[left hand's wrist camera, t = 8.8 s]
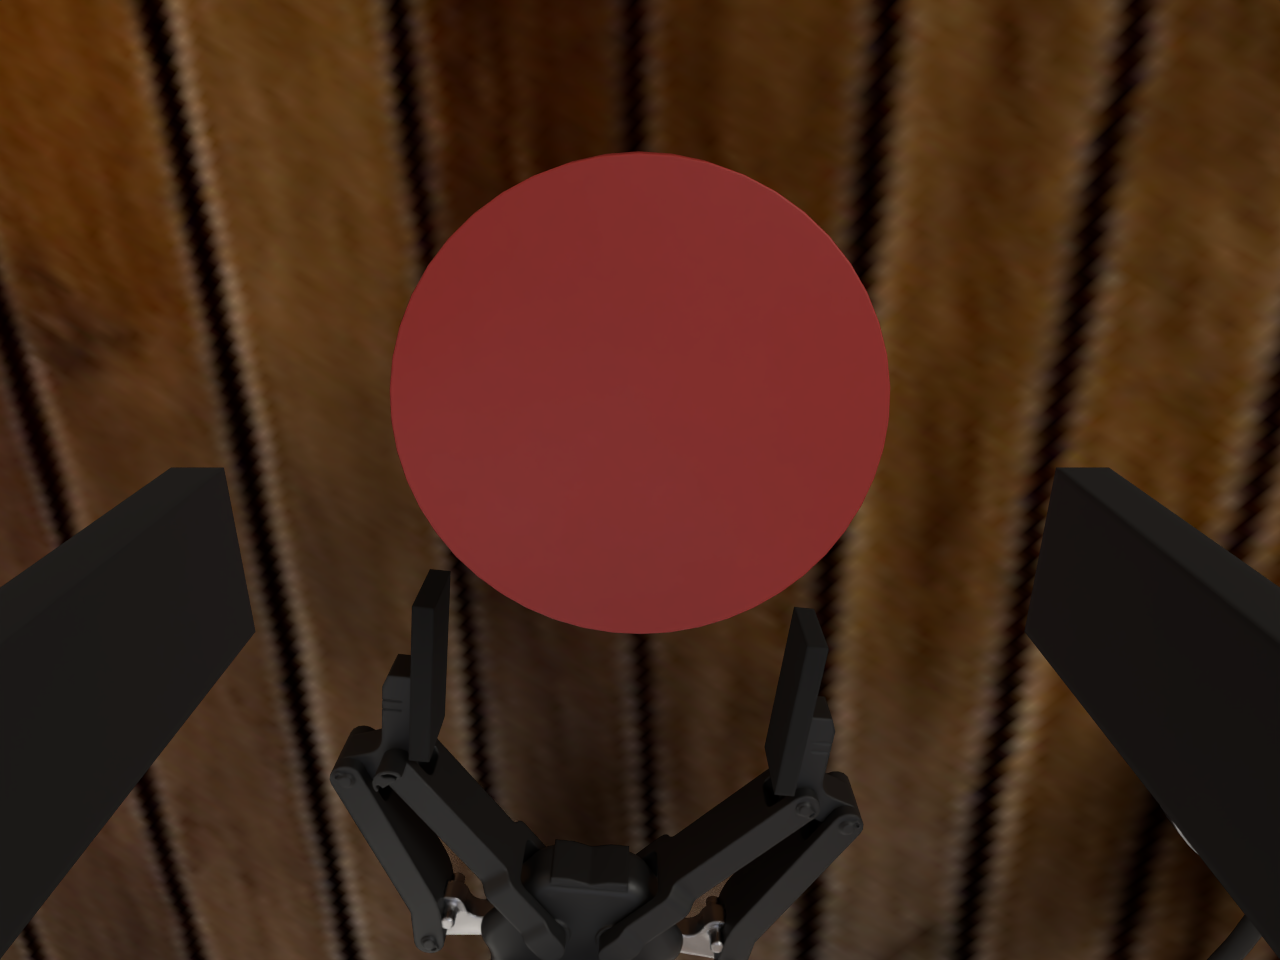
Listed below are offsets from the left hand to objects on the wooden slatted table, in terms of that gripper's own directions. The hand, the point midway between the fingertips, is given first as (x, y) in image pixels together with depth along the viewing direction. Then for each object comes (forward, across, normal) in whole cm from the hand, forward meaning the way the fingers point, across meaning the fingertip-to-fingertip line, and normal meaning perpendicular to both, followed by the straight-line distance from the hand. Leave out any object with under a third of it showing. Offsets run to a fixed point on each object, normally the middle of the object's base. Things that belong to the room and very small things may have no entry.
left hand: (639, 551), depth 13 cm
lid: (+7, 0, 0) cm, 7 cm away
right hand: (+15, +1, +10) cm, 18 cm away
